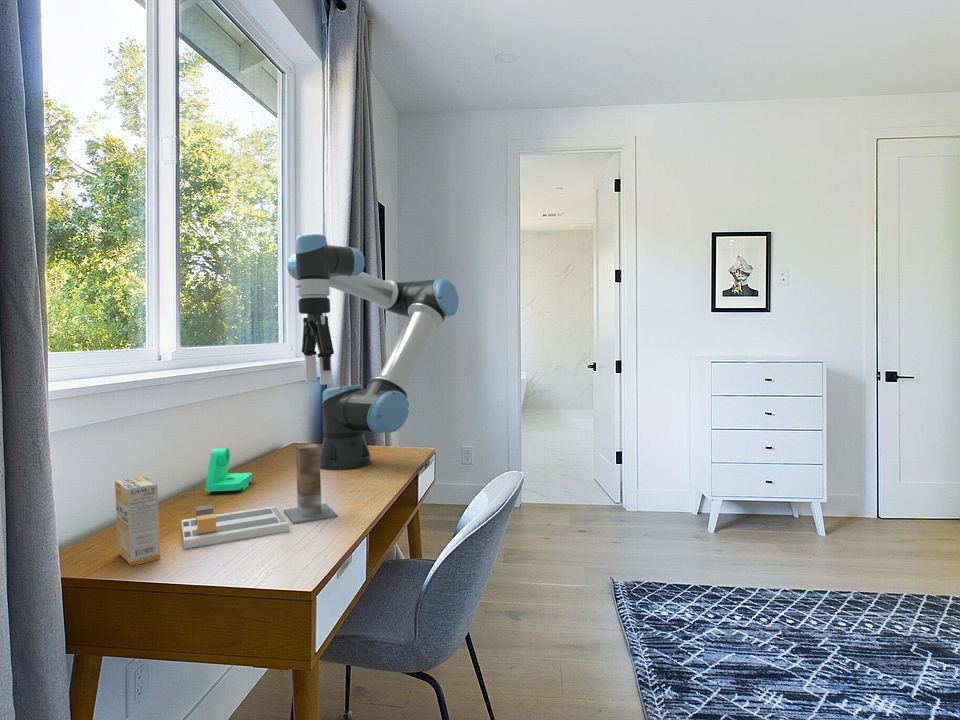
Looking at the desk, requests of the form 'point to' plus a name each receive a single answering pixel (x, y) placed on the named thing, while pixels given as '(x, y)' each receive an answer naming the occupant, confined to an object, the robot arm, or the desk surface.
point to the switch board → (236, 527)
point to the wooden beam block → (308, 479)
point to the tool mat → (297, 518)
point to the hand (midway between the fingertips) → (318, 382)
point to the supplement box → (137, 520)
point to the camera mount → (224, 473)
